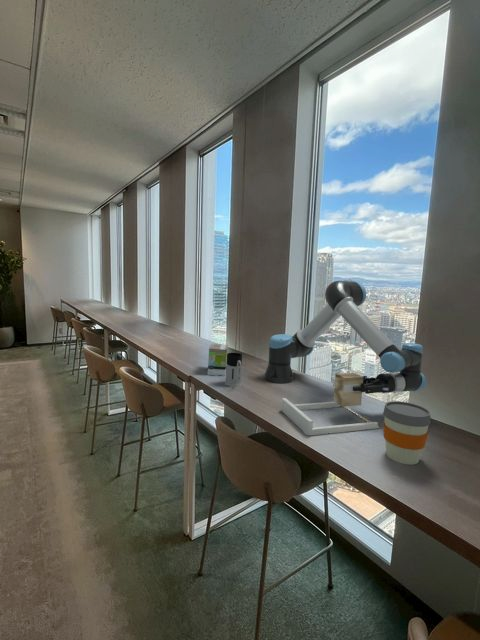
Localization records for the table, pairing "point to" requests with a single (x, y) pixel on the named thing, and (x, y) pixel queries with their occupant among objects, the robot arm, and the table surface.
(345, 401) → the tan cardboard box
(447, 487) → the table surface
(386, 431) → the reusable coffee cup
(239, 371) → the glass holder
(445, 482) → the table surface
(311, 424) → the bay
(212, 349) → the tea box
